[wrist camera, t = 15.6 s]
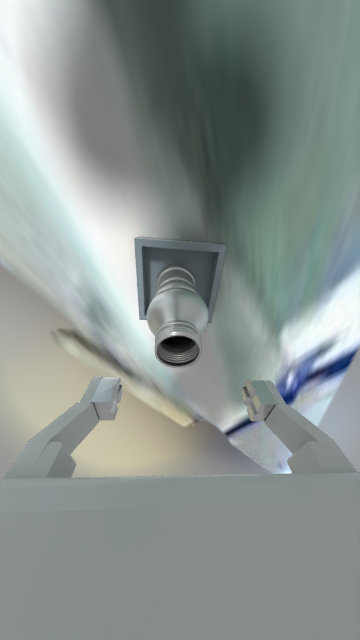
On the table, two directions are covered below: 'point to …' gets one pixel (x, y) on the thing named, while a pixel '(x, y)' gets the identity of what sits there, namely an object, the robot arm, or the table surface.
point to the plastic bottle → (177, 317)
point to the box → (192, 254)
